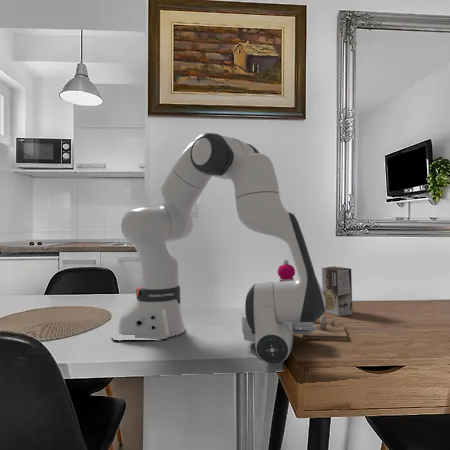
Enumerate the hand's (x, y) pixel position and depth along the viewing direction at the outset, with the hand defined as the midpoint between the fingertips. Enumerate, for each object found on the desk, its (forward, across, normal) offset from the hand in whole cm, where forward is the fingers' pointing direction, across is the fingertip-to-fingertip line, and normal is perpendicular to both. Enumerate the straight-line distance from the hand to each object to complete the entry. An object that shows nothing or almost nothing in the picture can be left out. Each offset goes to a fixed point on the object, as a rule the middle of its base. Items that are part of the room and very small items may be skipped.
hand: (278, 315), depth 113 cm
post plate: (+2, -13, +6) cm, 14 cm away
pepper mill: (+20, -2, +6) cm, 21 cm away
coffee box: (+28, -20, +6) cm, 34 cm away
